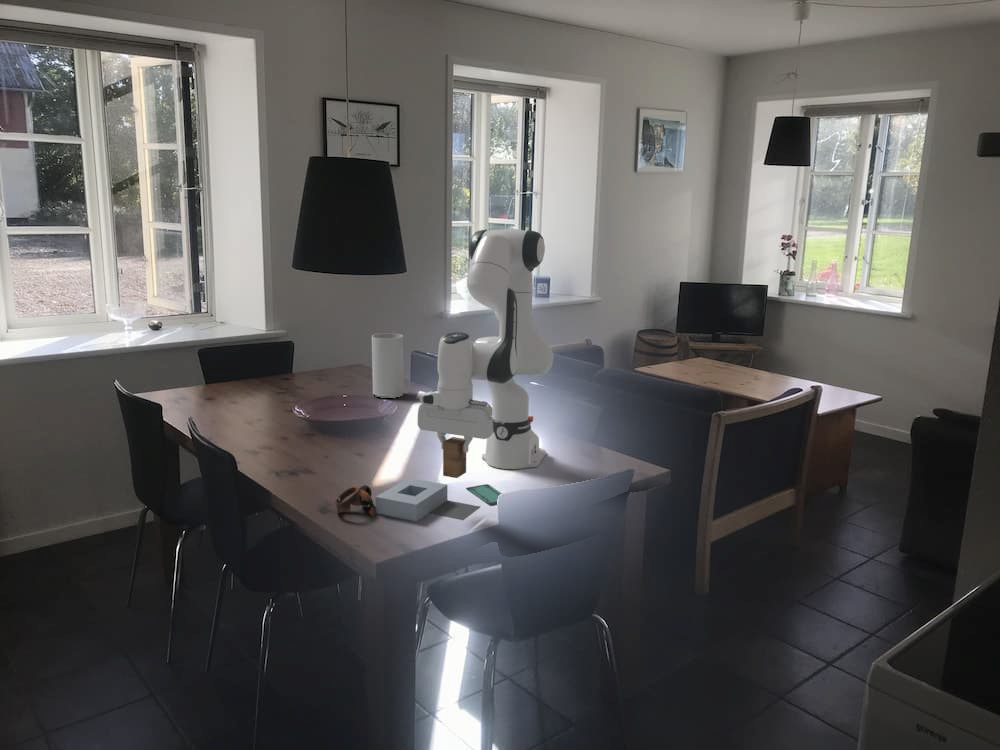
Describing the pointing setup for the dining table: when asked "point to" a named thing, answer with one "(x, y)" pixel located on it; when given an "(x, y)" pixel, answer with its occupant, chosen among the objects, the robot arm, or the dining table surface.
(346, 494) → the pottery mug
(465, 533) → the dining table surface
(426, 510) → the pocket holder
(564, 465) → the dining table surface
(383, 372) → the cylinder vase
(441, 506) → the rubber mat
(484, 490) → the smartphone
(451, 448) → the walnut block
